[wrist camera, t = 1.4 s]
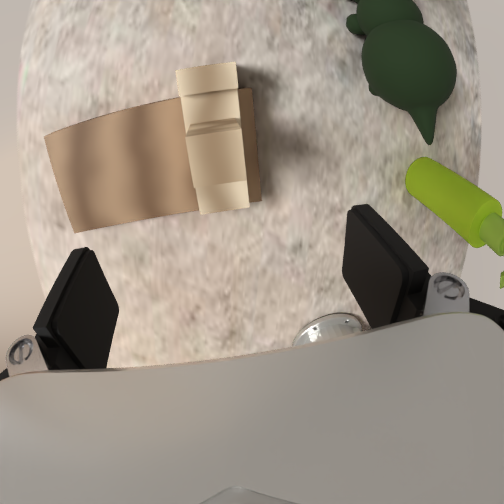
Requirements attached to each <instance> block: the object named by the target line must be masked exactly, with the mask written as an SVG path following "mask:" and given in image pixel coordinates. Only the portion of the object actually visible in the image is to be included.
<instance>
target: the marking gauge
mask: <svg viewBox="0 0 504 504" xmlns="http://www.w3.org/2000/svg"><path fill="white" fill-rule="evenodd" d="M175 71H176V78H177V86H178V93H179V97H181V104H182V110H183V117H184V123H185V130H186V136H185V139H186V145H187V151H188V157H189V163H190V169H191V175H192V180H193V186H194V188H195V189H196V194H197V200H198V205H199V211H200V215H202V214H208V213H215V212H221V211H228V210H235V209H242V208H249V197H248V187H247V178H246V168H245V158H244V149H243V139H242V129H241V120H240V110H239V101H238V91H237V88H238V80H237V70H236V62H229V63H220V64H212V65H205V66H198V67H192V68H186V69H180V70H175Z"/></svg>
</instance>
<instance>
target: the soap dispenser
mask: <svg viewBox="0 0 504 504" xmlns="http://www.w3.org/2000/svg"><path fill="white" fill-rule="evenodd" d="M405 183H406V188H407V190H408V192H409V193H410V194H411V195H412V196H414V197H415V198H416V199H417V200H419V201H420V202H421V203H422V204H424V205H425V206H426V207H427V208H429V209H430V210H431V211H432V212H434V213H435V214H436V215H437V216H438V217H440V218H441V219H442V220H443V221H444V222H445V223H447V224H448V225H449V226H450V227H451V228H452V229H454V230H455V231H456V232H457V233H458V234H459V235H460V236H461V237H463V238H464V239H465V240H466V241H467V242H468V243H469V244H470V245H471V246H472V247H475V248H479V247H482V246H484V245H485V244H487V245H488V246H489V247H490V248H491V249H492V250H493V251H494V252H495V253H496V254H497V255H499V256H504V219H503V218H502V207H501V204H500V202H499V201H498V200H496V199H495V198H493V197H492V196H490V195H489V194H487V193H486V192H484V191H483V190H481V189H480V188H478V187H477V186H475V185H474V184H472V183H471V182H469V181H468V180H466V179H464V178H463V177H461V176H460V175H458V174H456V173H455V172H453V171H451V170H450V169H448V168H446V167H444V166H443V165H441V164H439V163H437V162H436V161H434V160H432V159H430V158H428V157H421V158H418V159H417V160H415V161H414V162H413V163H412V164H411V165H410V167H409V169H408V171H407V174H406V179H405ZM503 287H504V271H503V272H502V273H501V278H500V289H501V288H503Z"/></svg>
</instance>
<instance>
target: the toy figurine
mask: <svg viewBox="0 0 504 504" xmlns="http://www.w3.org/2000/svg"><path fill="white" fill-rule="evenodd" d="M354 1H355V2H356V3H357V4H358V5H357V14H351V15H350V16H349V17H347V22H346V27H347V28H348V30H349V31H350V32H351V33H353V34H359V35H365V34H366V36H367V37H366V39H365V42H364V44H363V48H362V66H363V70H364V73H365V76H366V79H367V81H368V83H369V91H370V92H371V93H372V94H373V95H375V96H379V97H381V98H382V99H384V100H385V101H386V102H388V103H390V104H391V105H393V106H395V107H397V108H399V109H402V110H405V111H407V112H408V113H409V114H410V115H411V117H412V118H413V120H414V122H415V123H416V125H417V127H418V129H419V131H420V132H421V134H422V136H423V138H424V140H425V142H426V143H427V144H428V145H431V144H432V142H433V138H434V131H435V122H436V114H437V109H438V108H439V106H441V105H442V104H443V103H444V102H445V101H446V100H447V99H448V98H449V96H450V95H451V93H452V91H453V89H454V86H455V82H456V74H457V69H456V64H455V61H454V58H453V55H452V53H451V50H450V49H449V47H448V45H447V44H446V42H445V41H444V40H443V39H442V38H441V37H440V36H439V35H438V34H437V33H436V32H435V31H434V30H432V29H431V28H429V27H428V26H426V25H424V24H423V17H422V14H421V12H420V10H419V8H418V7H417V5H416V4H415V3H414V2H413V1H412V0H354Z"/></svg>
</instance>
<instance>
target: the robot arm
mask: <svg viewBox="0 0 504 504" xmlns="http://www.w3.org/2000/svg"><path fill="white" fill-rule="evenodd" d="M428 270H429V268H428V267H427V265H426V264H425V263H424V262H423V261H422V260H421V259H420V257H419V256H418V255H417V254H416V253H415V252H414V251H413V250H412V249H411V248H410V246H409V245H408V244H407V243H406V242H405V241H404V240H403V239H402V238H401V237H400V236H399V235H398V234H397V233H396V232H395V230H394V229H393V228H392V227H391V226H390V225H389V224H388V223H387V222H386V221H385V220H384V219H383V218H382V217H381V216H380V215H379V214H378V213H377V212H376V211H375V210H374V209H373V208H372V207H371V206H370V205H368V204H363V205H355V206H353V207H352V209H351V210H349V211H348V213H347V224H346V236H345V247H344V257H343V266H342V274H343V277H344V279H345V281H346V283H347V285H348V286H349V288H350V290H351V292H352V294H353V295H354V297H355V299H356V301H357V302H358V304H359V306H360V308H361V310H362V311H363V313H364V315H365V317H366V319H367V321H368V323H369V324H370V326H371V328H372V329H370V330H366V331H362V327H361V324H360V322H359V321H358V320H357V318H355V317H354V316H352V315H348V314H332V315H327V316H324V317H321V318H319V319H317V320H315V321H313V322H311V323H310V324H308V325H307V326H305V327H304V328H303V329H302V330H301V331H300V332H299V333H298V334H297V336H296V337H295V339H294V342H293V347H288V348H283V349H277V350H272V351H266V352H260V353H254V354H248V355H241V356H234V357H227V358H220V359H212V360H204V361H196V362H187V363H177V364H167V365H155V366H142V367H127V368H106V367H107V362H108V357H109V352H110V348H111V343H112V339H113V334H114V330H115V326H116V322H117V318H118V314H119V307H118V303H117V301H116V299H115V297H114V295H113V293H112V291H111V289H110V287H109V284H108V282H107V280H106V278H105V276H104V273H103V271H102V269H101V267H100V264H99V262H98V260H97V257H96V255H95V253H94V251H93V250H90V249H89V248H88V247H84V248H79V249H74V250H73V251H72V252H71V254H70V256H69V257H68V259H67V261H66V263H65V265H64V266H63V268H62V270H61V272H60V274H59V275H58V277H57V279H56V281H55V283H54V285H53V287H52V289H51V291H50V293H49V295H48V297H47V299H46V301H45V303H44V305H43V307H42V309H41V311H40V313H39V315H38V317H37V320H36V322H35V324H34V326H33V329H34V330H35V332H36V333H37V334H36V336H35V337H33V336H32V335H24V336H21V337H20V338H18V339H16V340H15V341H14V342H13V343H12V344H11V346H10V347H9V349H8V351H7V354H6V365H7V369H5V370H4V371H3V372H2V373H0V504H504V310H502V309H499V308H497V307H494V306H491V305H489V304H486V303H483V302H480V301H477V300H475V299H472V298H469V290H468V287H467V285H466V284H465V282H464V281H463V280H462V279H460V278H459V277H457V276H455V275H453V274H450V273H445V272H442V273H436V274H434V275H433V276H431V275H430V274H429V273H428Z"/></svg>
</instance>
